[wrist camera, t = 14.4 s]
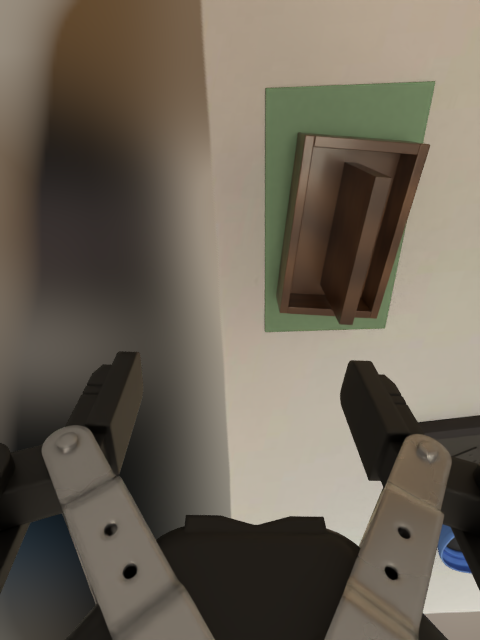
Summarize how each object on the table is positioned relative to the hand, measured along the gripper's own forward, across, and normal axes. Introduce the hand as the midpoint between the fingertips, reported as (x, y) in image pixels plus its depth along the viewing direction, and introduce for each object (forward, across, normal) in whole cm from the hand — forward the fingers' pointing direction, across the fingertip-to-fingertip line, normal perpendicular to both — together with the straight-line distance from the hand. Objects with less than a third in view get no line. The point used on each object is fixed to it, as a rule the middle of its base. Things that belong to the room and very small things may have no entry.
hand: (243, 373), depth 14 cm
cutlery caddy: (+24, -10, +1) cm, 26 cm away
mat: (+24, -10, +1) cm, 26 cm away
